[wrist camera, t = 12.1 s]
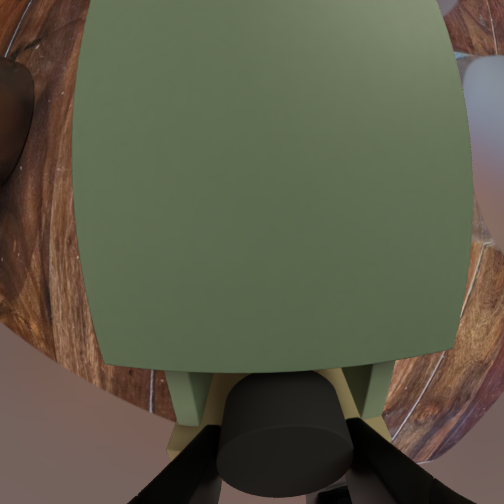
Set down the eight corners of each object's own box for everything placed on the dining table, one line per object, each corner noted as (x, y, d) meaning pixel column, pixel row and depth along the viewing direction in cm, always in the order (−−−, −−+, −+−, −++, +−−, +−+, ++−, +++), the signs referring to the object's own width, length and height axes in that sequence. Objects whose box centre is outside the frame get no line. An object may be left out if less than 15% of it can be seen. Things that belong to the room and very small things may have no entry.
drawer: (342, 421, 15) (364, 499, 9) (208, 426, 16) (190, 506, 10) (362, 197, 13) (437, 207, 6) (178, 203, 13) (112, 218, 7)
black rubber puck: (331, 438, 9) (343, 491, 6) (230, 443, 9) (223, 497, 6) (343, 360, 8) (367, 416, 5) (219, 365, 8) (205, 425, 6)
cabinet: (366, 271, 14) (453, 349, 6) (179, 278, 15) (103, 364, 7) (357, 68, 12) (429, -16, 4) (169, 75, 12) (92, -8, 5)
